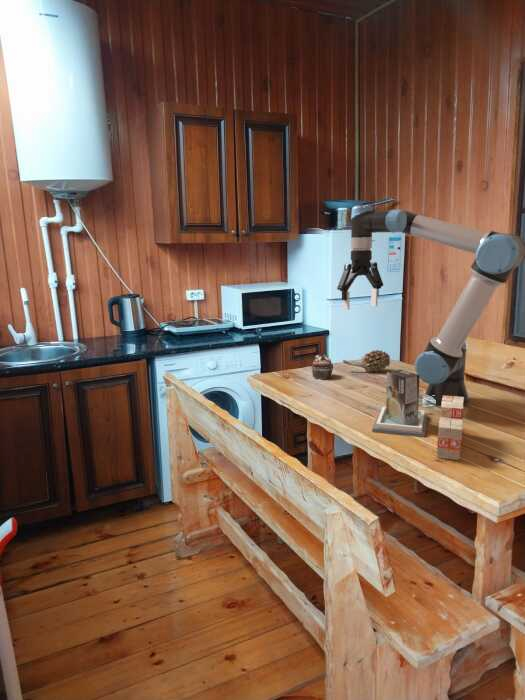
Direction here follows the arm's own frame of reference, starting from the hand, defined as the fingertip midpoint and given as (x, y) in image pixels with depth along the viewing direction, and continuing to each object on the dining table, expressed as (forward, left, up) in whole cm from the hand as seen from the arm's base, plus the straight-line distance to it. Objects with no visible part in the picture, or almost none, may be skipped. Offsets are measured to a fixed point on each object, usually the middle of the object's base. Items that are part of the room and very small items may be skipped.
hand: (360, 307), depth 196 cm
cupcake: (+20, -24, -35) cm, 47 cm away
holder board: (-18, +26, -35) cm, 47 cm away
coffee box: (-18, +26, -34) cm, 46 cm away
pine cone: (+3, -38, -35) cm, 51 cm away
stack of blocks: (-33, +40, -35) cm, 63 cm away
